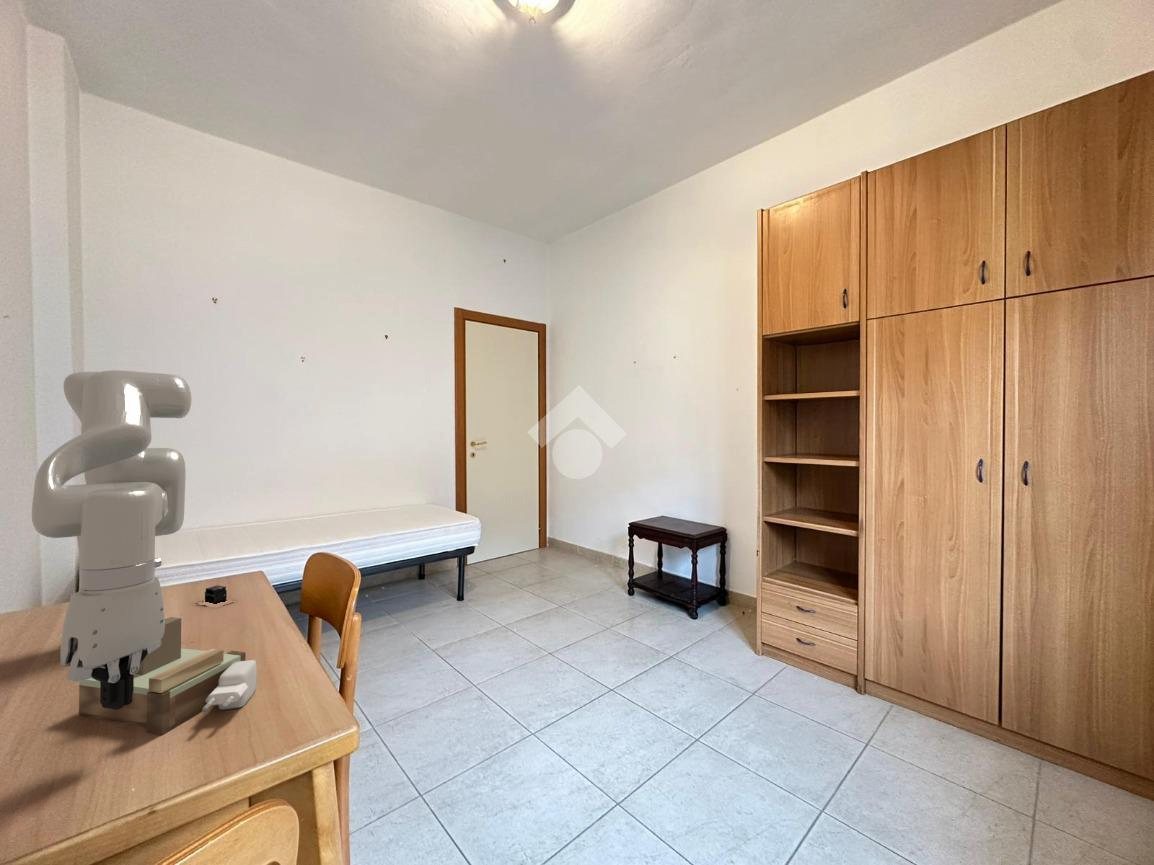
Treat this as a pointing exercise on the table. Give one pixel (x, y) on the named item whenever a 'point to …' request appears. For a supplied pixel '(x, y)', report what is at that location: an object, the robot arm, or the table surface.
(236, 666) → the power adapter
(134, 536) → the robot arm
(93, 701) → the brown wooden open box
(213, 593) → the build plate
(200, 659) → the tan rectangular block
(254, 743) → the table surface
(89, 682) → the lid
